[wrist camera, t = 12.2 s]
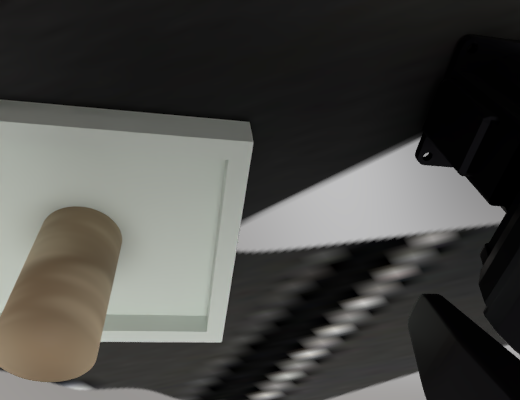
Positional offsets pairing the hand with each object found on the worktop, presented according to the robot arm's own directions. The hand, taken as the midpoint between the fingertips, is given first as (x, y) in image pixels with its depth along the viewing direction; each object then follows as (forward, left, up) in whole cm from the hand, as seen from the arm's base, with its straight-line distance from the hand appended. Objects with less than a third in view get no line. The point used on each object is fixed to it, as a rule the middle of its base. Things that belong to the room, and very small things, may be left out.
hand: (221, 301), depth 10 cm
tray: (+6, +9, -13) cm, 17 cm away
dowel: (+6, +9, -12) cm, 16 cm away
